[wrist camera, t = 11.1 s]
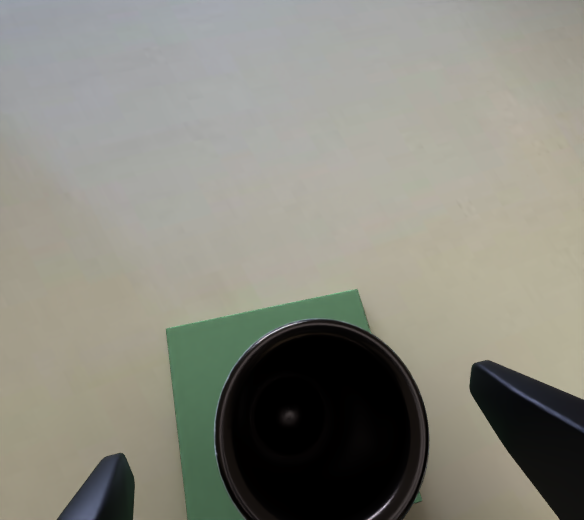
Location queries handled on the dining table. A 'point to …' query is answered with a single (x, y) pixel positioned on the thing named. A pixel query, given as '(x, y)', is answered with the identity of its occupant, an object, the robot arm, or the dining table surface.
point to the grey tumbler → (321, 427)
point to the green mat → (211, 378)
